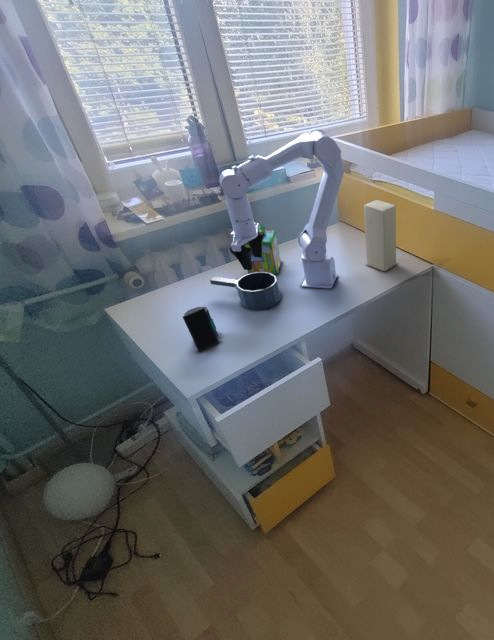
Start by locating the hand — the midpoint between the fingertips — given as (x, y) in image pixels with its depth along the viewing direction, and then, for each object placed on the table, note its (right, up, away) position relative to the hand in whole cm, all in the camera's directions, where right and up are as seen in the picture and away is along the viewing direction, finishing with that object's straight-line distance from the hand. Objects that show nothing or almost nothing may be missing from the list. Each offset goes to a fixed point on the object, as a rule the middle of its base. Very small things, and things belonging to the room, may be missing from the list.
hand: (253, 263), depth 124 cm
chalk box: (-4, +2, +18) cm, 19 cm away
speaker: (-8, -23, -12) cm, 27 cm away
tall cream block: (+35, +4, +24) cm, 42 cm away
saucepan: (-4, -10, +5) cm, 11 cm away
